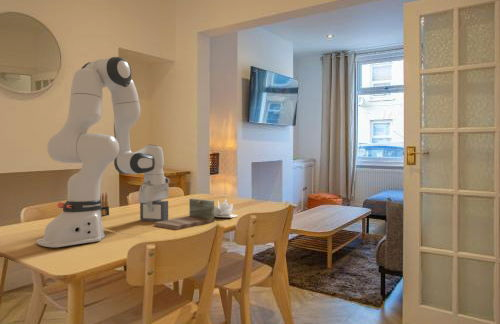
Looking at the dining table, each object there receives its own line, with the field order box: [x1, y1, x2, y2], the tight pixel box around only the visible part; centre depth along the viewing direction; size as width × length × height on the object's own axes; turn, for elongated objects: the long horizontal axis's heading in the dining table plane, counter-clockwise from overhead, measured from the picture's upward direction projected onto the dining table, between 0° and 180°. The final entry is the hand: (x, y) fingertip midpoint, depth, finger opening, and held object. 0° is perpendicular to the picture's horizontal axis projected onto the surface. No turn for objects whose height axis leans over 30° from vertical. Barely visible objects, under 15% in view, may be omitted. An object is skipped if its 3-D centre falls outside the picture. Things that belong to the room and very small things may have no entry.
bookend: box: [153, 198, 215, 231], centre depth 159 cm, size 22×14×10 cm, turn 144°
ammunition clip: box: [100, 191, 110, 218], centre depth 173 cm, size 11×2×12 cm, turn 150°
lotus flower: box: [214, 199, 239, 219], centre depth 176 cm, size 14×15×9 cm
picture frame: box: [139, 200, 169, 223], centre depth 166 cm, size 4×12×9 cm, turn 74°
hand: (154, 210), depth 166 cm, fingers closed on picture frame, 4 cm apart
